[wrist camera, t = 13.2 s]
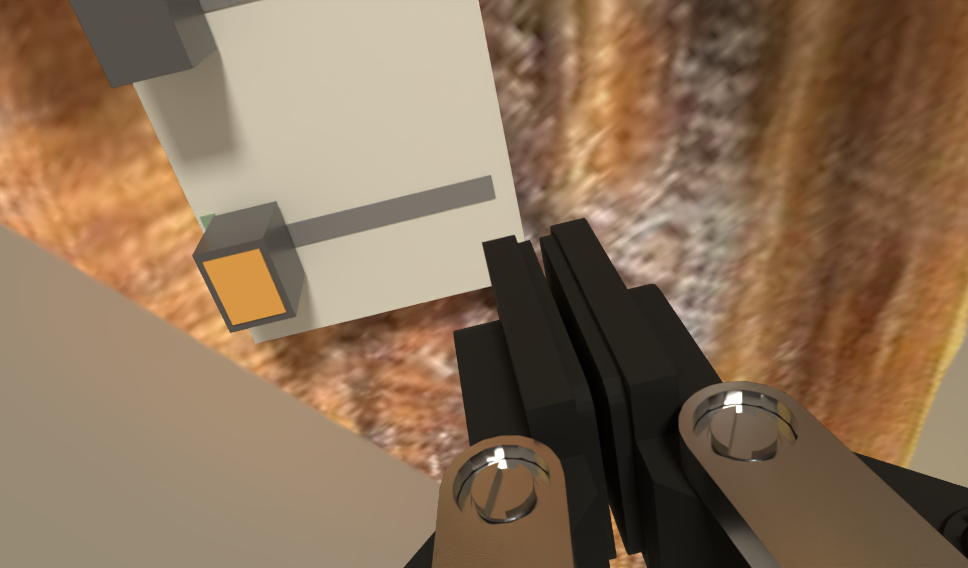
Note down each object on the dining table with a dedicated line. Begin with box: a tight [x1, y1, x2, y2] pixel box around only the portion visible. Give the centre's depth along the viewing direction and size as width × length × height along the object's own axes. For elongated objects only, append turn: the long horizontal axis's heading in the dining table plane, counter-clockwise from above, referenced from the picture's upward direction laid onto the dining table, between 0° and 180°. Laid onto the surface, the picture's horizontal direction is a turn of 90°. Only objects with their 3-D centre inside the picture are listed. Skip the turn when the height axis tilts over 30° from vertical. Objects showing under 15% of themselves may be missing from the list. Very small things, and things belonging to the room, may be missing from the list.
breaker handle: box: [69, 0, 217, 88], centre depth 25 cm, size 3×4×4 cm
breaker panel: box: [133, 0, 525, 343], centre depth 31 cm, size 15×22×3 cm
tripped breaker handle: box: [192, 201, 305, 333], centre depth 30 cm, size 3×4×4 cm
